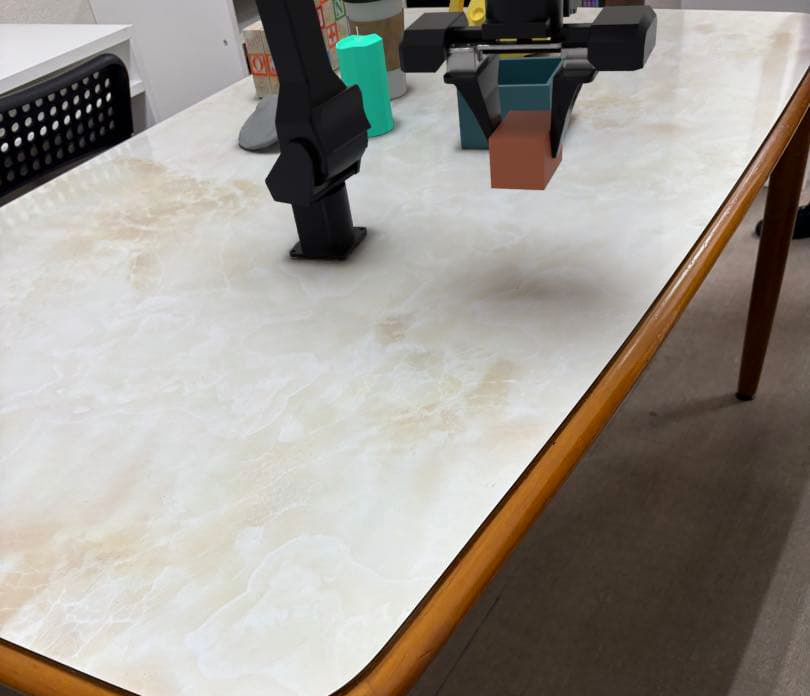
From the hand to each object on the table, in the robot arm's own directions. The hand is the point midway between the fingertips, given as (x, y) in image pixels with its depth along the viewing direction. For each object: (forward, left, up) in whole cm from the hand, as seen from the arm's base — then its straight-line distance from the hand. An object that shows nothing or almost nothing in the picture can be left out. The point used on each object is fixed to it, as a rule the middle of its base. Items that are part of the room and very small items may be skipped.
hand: (527, 155), depth 71 cm
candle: (+38, +31, -12) cm, 50 cm away
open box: (+31, +11, -8) cm, 34 cm away
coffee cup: (+51, +34, -12) cm, 62 cm away
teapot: (+65, +20, -12) cm, 69 cm away
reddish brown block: (0, 0, -2) cm, 2 cm away
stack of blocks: (+59, +50, -12) cm, 79 cm away
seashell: (+35, +44, -12) cm, 57 cm away
